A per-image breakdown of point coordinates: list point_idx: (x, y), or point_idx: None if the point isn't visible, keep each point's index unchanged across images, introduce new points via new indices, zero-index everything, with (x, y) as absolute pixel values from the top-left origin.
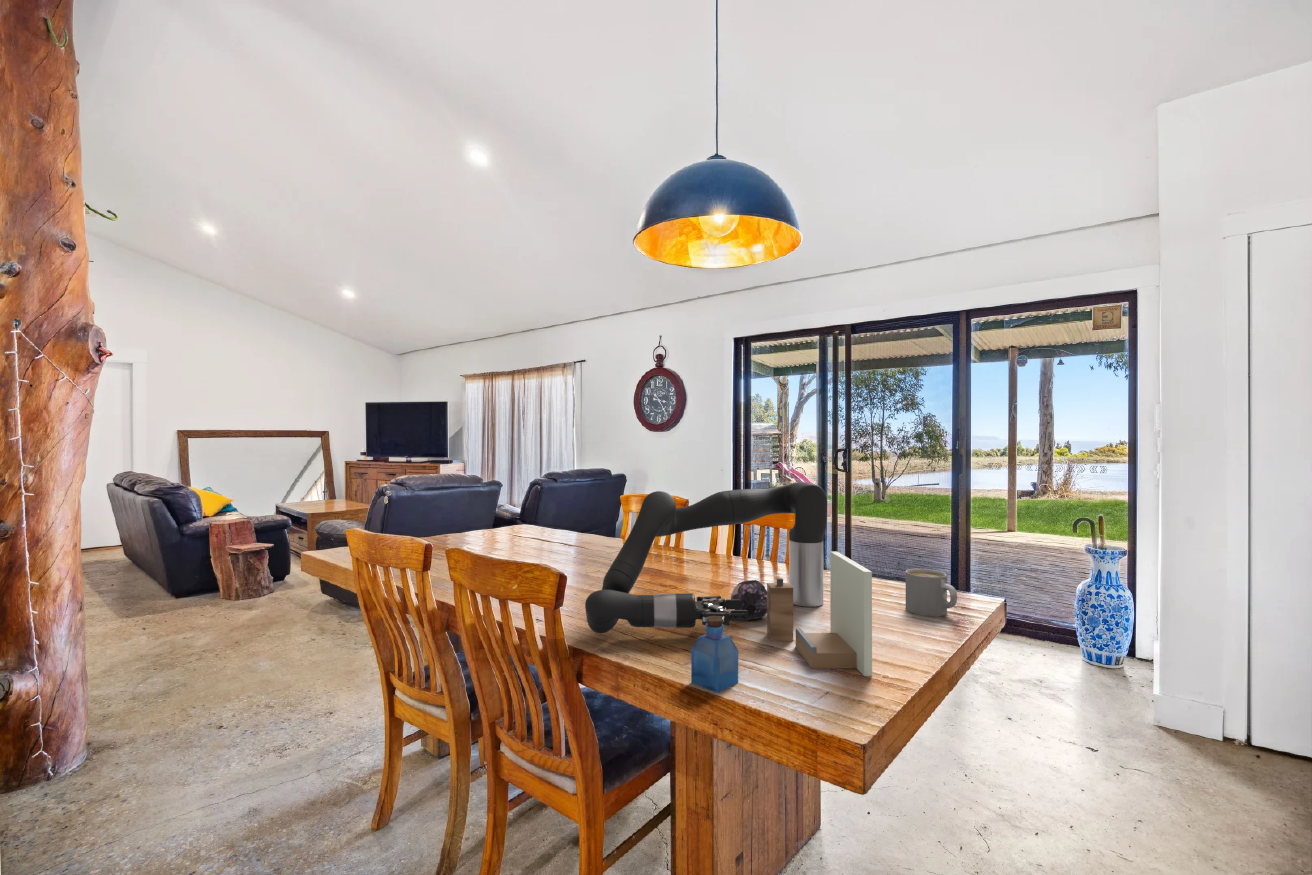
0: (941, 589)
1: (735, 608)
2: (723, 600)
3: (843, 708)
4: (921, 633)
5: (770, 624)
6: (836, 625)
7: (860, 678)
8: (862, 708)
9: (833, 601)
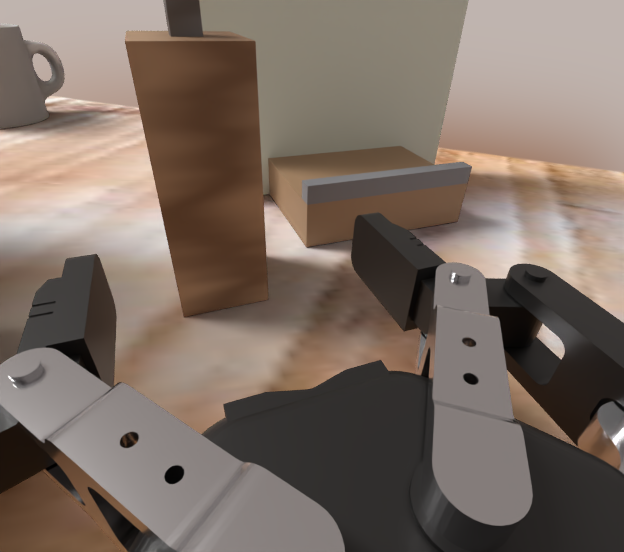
0: (30, 55)
1: (113, 336)
2: (72, 364)
3: (612, 193)
4: None
5: (249, 246)
6: (267, 137)
7: None
8: (582, 180)
9: None
